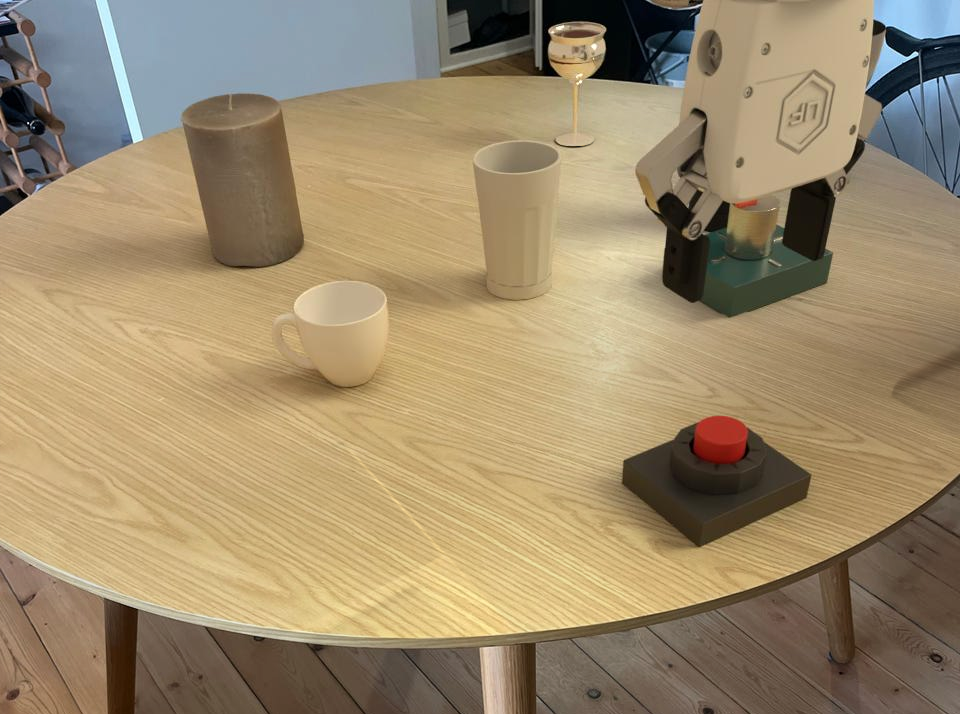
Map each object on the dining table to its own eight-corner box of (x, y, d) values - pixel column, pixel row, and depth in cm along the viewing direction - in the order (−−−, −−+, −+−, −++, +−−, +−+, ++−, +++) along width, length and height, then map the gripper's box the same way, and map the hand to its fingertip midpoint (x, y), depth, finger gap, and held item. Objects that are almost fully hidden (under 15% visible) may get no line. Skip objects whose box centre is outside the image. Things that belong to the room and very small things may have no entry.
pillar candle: (277, 220, 113) (249, 71, 102) (321, 250, 107) (297, 95, 96) (196, 246, 109) (159, 94, 98) (238, 278, 103) (203, 120, 92)
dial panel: (755, 245, 103) (760, 214, 101) (827, 282, 97) (834, 250, 95) (661, 277, 99) (664, 246, 97) (729, 318, 93) (734, 286, 91)
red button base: (724, 440, 80) (731, 396, 77) (806, 499, 74) (816, 453, 72) (621, 484, 77) (624, 439, 74) (698, 548, 71) (705, 503, 68)
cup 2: (464, 278, 101) (457, 152, 93) (534, 258, 103) (533, 134, 95) (502, 311, 96) (498, 181, 87) (575, 290, 98) (578, 161, 90)
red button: (721, 430, 75) (724, 409, 73) (755, 454, 72) (758, 433, 71) (682, 446, 73) (685, 425, 72) (715, 471, 71) (718, 450, 70)
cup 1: (394, 395, 86) (385, 322, 82) (276, 402, 86) (260, 329, 82) (395, 349, 92) (387, 277, 87) (284, 355, 92) (270, 284, 87)
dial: (751, 235, 98) (758, 184, 95) (782, 252, 95) (790, 200, 92) (714, 246, 97) (721, 195, 93) (744, 264, 94) (752, 212, 91)
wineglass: (575, 154, 122) (578, 42, 114) (535, 140, 126) (535, 31, 117) (613, 138, 125) (619, 28, 117) (573, 125, 129) (576, 18, 121)
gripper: (706, -6, 47) (670, 336, 59) (971, -63, 52) (888, 259, 65) (610, -37, 51) (595, 286, 63) (863, -86, 57) (805, 218, 69)
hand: (743, 272), depth 64 cm, fingers open, 9 cm apart
